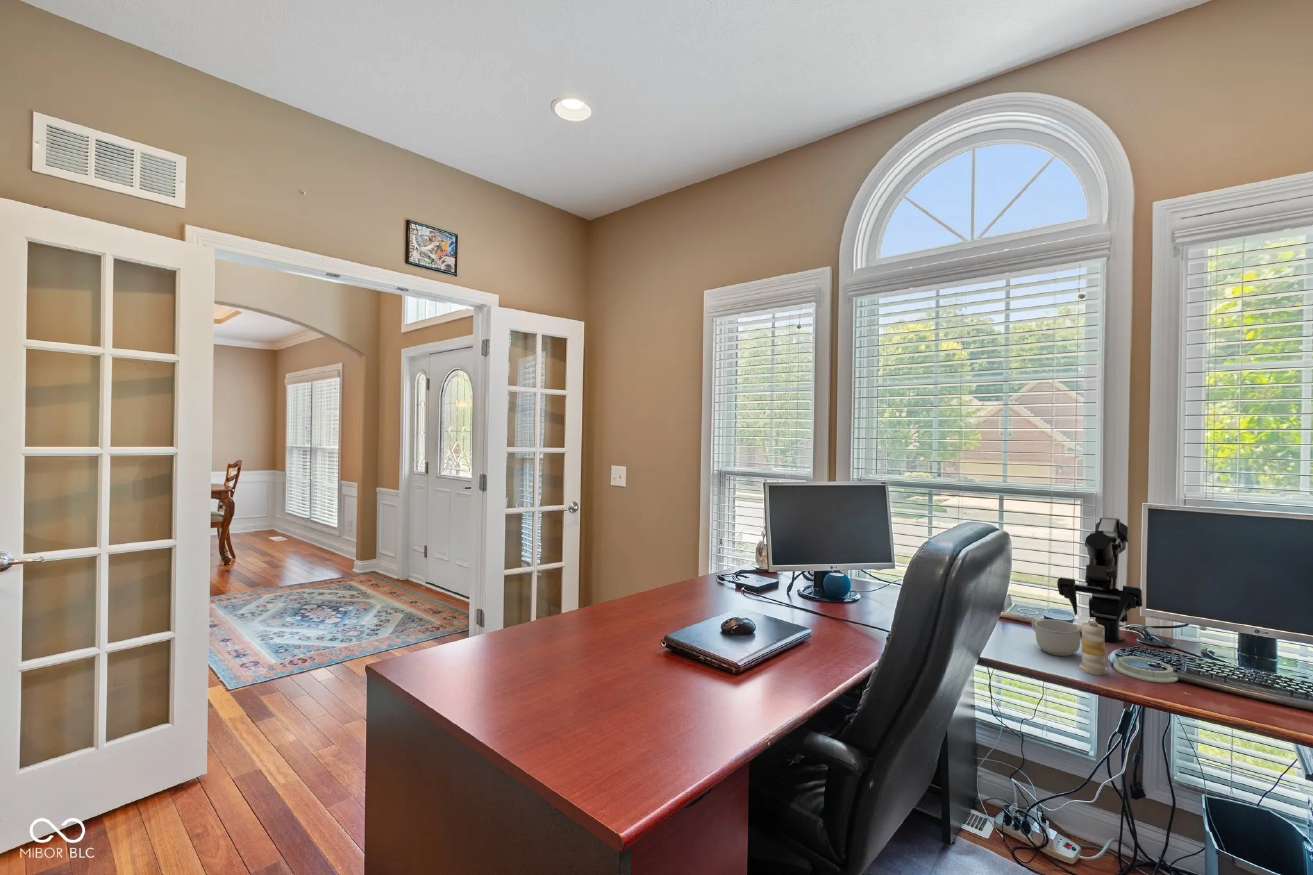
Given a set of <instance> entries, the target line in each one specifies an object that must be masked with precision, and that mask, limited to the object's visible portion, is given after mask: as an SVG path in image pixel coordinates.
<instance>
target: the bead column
mask: <svg viewBox="0 0 1313 875" xmlns="http://www.w3.org/2000/svg"><path fill="white" fill-rule="evenodd" d="M1105 642H1106V641H1105V629H1104V626H1102V625H1100V624H1098V623H1097V622H1095V621H1093V620H1089V621H1088V622H1082V623H1081V662H1080V663H1079V664H1078V665H1079V670H1080V669H1081V670H1082V672H1083V671H1084V673H1086V672H1087V673H1086V674H1089V673H1090V674H1089V675H1093V674H1095V675H1094V676H1107V675H1108V674H1109V671H1108V670H1109V669H1108V666H1107V667H1106V664H1105V663H1106V655H1105V654H1106V653H1105V652H1106V651H1105V650H1106V648H1105V647H1106V646H1105ZM1081 670H1080V671H1081Z"/></svg>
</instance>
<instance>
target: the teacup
mask: <svg viewBox="0 0 1313 875" xmlns="http://www.w3.org/2000/svg"><path fill="white" fill-rule="evenodd" d="M1031 627H1032V629H1033V630H1034V632H1035V639H1036V642H1037V645H1038V646H1039V647H1040V648H1041V649H1042V650H1043V651H1044V652H1046V653H1048V654H1050V655H1054V656H1058V657H1069V656H1072V655H1073V654H1075V653H1077V652H1078V651H1079V650H1080V646H1081V628H1080V626H1079V625H1077V624H1076V623H1073V622H1070V621H1065V620H1060V619H1041V618H1037V617H1036V618H1033V619H1032V620H1031Z"/></svg>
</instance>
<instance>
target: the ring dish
mask: <svg viewBox="0 0 1313 875" xmlns="http://www.w3.org/2000/svg"><path fill="white" fill-rule="evenodd" d="M1128 660H1144V661H1153V662H1156V663H1160V664H1161V665H1163V666H1164V667H1165V668H1166V669H1167V670H1165V671H1151V670H1145V669H1140V668H1137V667H1133V666H1130V665H1128V664H1126V663H1125V661H1128ZM1117 661H1118V664H1116V663H1115V661H1114V662H1113V669H1114V670H1115V671H1117V673H1120V674H1122V675H1125V676H1126V677H1130V678H1133V679H1135V680H1136V679H1137V680H1140V681H1146V682H1152V683H1157V684H1158V683H1161V684H1167V683H1168V684H1170V683H1171V684H1172V683H1175V682H1177V681H1179V677H1178V678H1177V677H1173V671H1174V669H1173V666H1171V665H1169V664H1168V663H1164V662H1163V661H1159V660H1155V659H1152V658H1147V657H1141V656H1132V655H1129V656H1128V655H1124V656H1119V657H1117Z"/></svg>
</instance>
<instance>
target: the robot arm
mask: <svg viewBox="0 0 1313 875" xmlns="http://www.w3.org/2000/svg"><path fill="white" fill-rule="evenodd" d="M1094 527H1095V530H1092V531H1091V532H1090V533H1089V535H1086V537H1085V540H1084V546H1085V548H1086V551H1087V555H1088V557H1089V559H1088V561H1089V562H1088V564H1086V566H1085V579H1084V582H1085V584H1079V583H1076V579H1075V578H1069V577H1062V576H1061V577H1059V578H1057V583H1056V586H1057V591H1058V595H1060V596H1064V599H1067V600H1069V603H1070V604H1071V607H1072V609H1073V612H1074V615H1075V616H1077V615H1078V598H1077V592H1079V593H1087V594H1091V597H1090V596H1089V598H1088V611H1089V612H1088V613H1089V614H1088V615H1089V618H1094V622H1097V623H1098V624H1100V625H1102V626H1104V629H1105V642H1108V643H1118V642H1122V641H1126V637H1122V636H1120V622H1121V623H1127V622H1129V620H1128V618H1129V617H1128V616H1129V615H1128V612H1129V611H1130V610H1131V609H1136V608H1137V607H1138V608H1141V607H1143V598H1144V597H1143V591H1142V590H1143V589H1141V587H1139V586H1133V585H1132V586H1131V585H1125V584H1124V585H1123V586H1122V589H1121V590H1120V589H1119V588H1118V587H1117V586H1118V575H1119V574H1118V573H1119V560H1120V554H1121V553H1123V552H1124V551H1125V550H1126V549H1127V548H1126V547H1127V543H1129V542H1130V532H1129V527H1128V526H1127V525H1125V524H1124V523H1123V522H1121V519H1120V518H1117V517H1110V516H1108V517H1107V516H1103V517H1099V522H1097V523H1095V526H1094Z"/></svg>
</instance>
